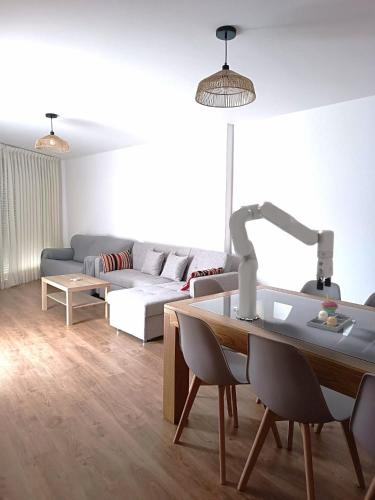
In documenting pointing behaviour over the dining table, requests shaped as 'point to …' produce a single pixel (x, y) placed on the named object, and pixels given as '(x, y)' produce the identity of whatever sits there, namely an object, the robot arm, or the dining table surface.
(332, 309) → the cupcake
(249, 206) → the robot arm
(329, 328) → the egg tray
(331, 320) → the brown egg
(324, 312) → the cream egg
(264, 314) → the dining table surface
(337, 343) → the dining table surface
